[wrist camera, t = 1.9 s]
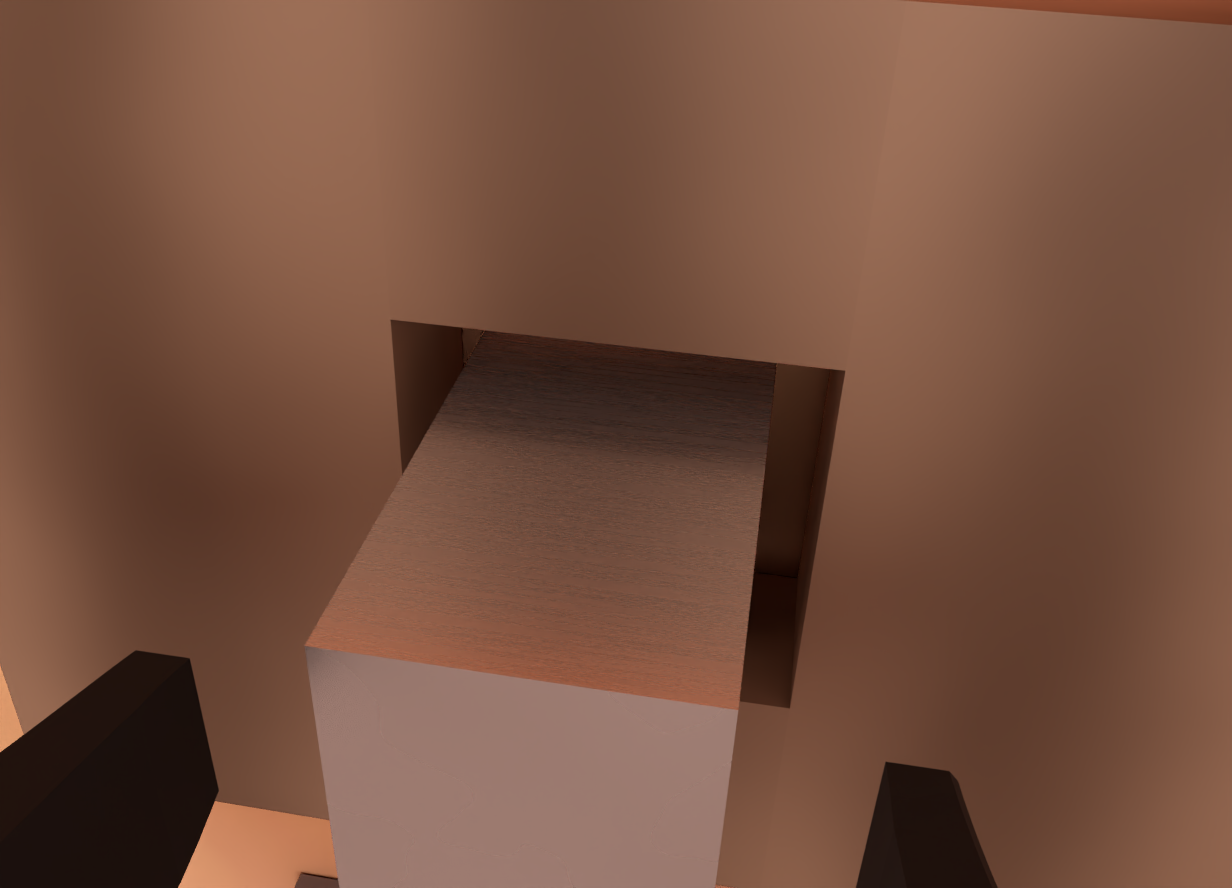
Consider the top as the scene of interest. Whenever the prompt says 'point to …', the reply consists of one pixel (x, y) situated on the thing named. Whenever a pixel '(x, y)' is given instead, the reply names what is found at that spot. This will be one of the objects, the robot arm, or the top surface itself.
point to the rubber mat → (315, 882)
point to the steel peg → (549, 626)
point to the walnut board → (664, 320)
